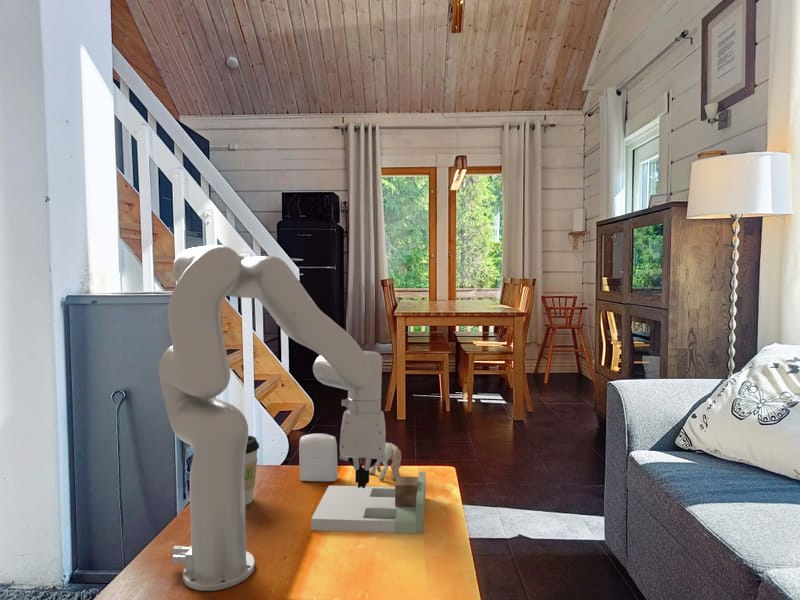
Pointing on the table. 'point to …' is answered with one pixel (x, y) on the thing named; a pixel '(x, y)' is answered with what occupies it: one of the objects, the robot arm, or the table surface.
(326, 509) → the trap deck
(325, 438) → the photo printer
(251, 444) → the coffee cup
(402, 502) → the walnut block
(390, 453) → the unicorn figurine
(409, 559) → the table surface
